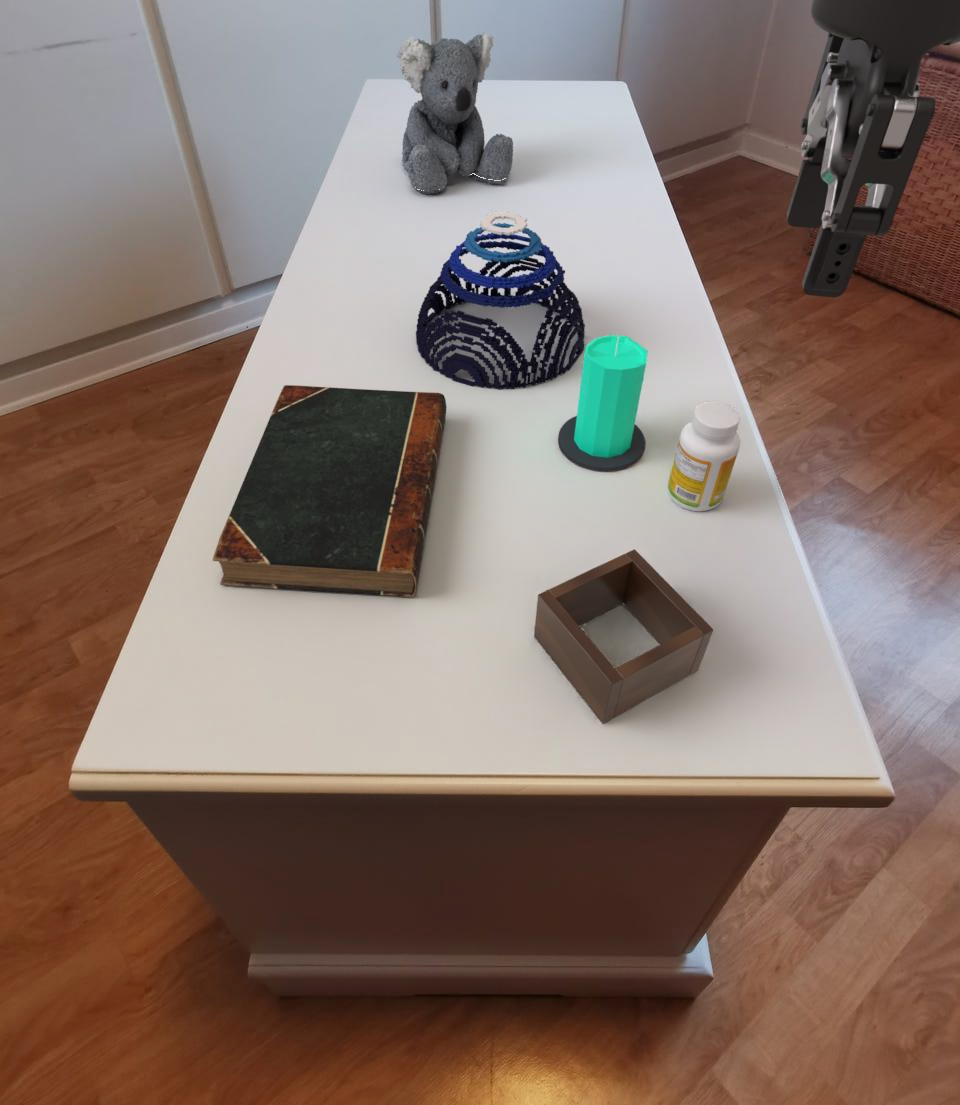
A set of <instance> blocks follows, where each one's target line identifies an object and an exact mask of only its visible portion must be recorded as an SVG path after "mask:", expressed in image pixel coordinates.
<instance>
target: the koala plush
mask: <svg viewBox="0 0 960 1105" xmlns="http://www.w3.org/2000/svg"><path fill="white" fill-rule="evenodd" d="M493 40H494V37H493V36H492V35H489V34H486V33H485V32H484V31H482V33H480V34H476V35H474V36H473V37H472V38H471V39H469V40H468V41H467V42H466V43H465V42H463V41H461V40H460V39H458V38H450V39H449V38H447V37H446V38H444V37H442V38H440V39H438V40H435V41H434V42H432V43H431V44H430V43H428V42H426V41H425V40H421V39H420V38H417V39H415V37H414V36H409V38H406V39H405V41H404V42H403V43H402V45H401V46H399V49H400V50H398V53H397V54H396V57H397V58H398V59H399V60H401V61H400V62H399V63H400V64H399V69H400V71H401V75H402V77H403V78H404V79H403V80H404V81H406V82H408V83H409V84H410V89H413V90H414V92H415V93H417V94H420V95H421V99H420V100H417V102H414V103H413V105H412V106H411V107H410V110H409V114H408V117H407V120H406V121H407V122H406V127H405V131H404V132H403V135H402V136H403V137H402V152H401V154H402V157H401V162H403V164H404V166H403V170H404V171H405V172H406V171H407V170H408V171H407V173H408V177H409V181H410V185H411V187H412V188H413V189H414V190H415V191H418V192H419V193H422V194H425V195H431V194H435V195H436V194H439V193H440V192H443V191H444V190H445V188H446V187H447V184H448V177H447V176H448V175H449V176H452V175H453V174H455V173H457V172H458V174H459V175H460V176H463V175H464V176H463V177H465V176H466V175H470V174H472V173H475V174H476V175H478V176H480V177H484V178H486V179H483V178H480V177H478V176H476V175H474V174H472V175H470V176H466V177H469V178H471V179H473V180H476V181H479V182H484V183H488V184H489V185H491V184H493V185H500V184H504V183H506V181H507V179H508V178H509V175H510V174H511V173H510V172H511V171H512V167H513V166H512V165H513V161H514V160H513V158H514V153H513V152H514V141H513V138H512V137H511V136H506V135H505V134H503V133H499V134H498V133H496V134H495V135H492V137H490V138H489V140H488V141H487V142H486V144H485V130H484V125H483V121H482V118H481V115H480V112H479V110H478V108H477V106H476V103H477V93H478V90H479V88H478V87H479V83H482V82H483V80H485V72H486V71H487V69H488V68H489V67H490V64H491V51H492V48H493V47H494V43H493V42H494V41H493ZM403 164H402V165H403ZM504 178H506V179H504ZM488 179H493V180H488ZM502 179H504V180H502ZM494 180H501V181H494ZM415 187H416V188H415ZM417 189H420V190H417ZM439 189H440V190H439ZM421 190H422V191H421ZM423 190H424V191H423Z"/></svg>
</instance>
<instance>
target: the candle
mask: <svg viewBox="0 0 960 1105" xmlns="http://www.w3.org/2000/svg"><path fill="white" fill-rule="evenodd" d="M648 352H649V351H648V350H647V349H646V348H645V347H643V345H641V344H639V343H638V342H637V341H635V339H634V340H633V339H632V338H631V337H629V336H628V335H617V334H608V335H604V336H599V337H596V338H594V339H593V340H591V341H590V342H589V343H588V344H587V345H586V346H585V348H584V355H583V363H582V371H581V380H580V386H579V396H578V404H577V412H576V416H577V419H576V427H575V435H574V441H575V442H576V444H577V445H578V447H579V449H581V450H582V451H584V452H586V453H588V454H590V455H592V456H597V457H605V458H609V457H614V456H618V455H622V454H623V453H624V452H625V451H626V450H628V449H629V448H630V445H631V440H632V435H633V430H634V424H635V425H636V419H637V415H638V414H637V413H638V410H639V409H638V408H639V404H640V398H641V393H642V388H643V382H644V378H645V371H646V366H647V362H648V354H649V353H648Z"/></svg>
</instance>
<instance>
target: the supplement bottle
mask: <svg viewBox="0 0 960 1105" xmlns="http://www.w3.org/2000/svg"><path fill="white" fill-rule="evenodd" d="M740 422H741V415H740V412H739V411H738V409H736V408H735V407H734V406H732V405H731V404H729V403H726V402H723V401H718V400H708V401H707V400H706V401H704V402H701V403H699V404H698V405H697V406H696V407H695V409H694V412H693V415H692V417H691V421H689V422H687V424H685V425H684V426H683V427H682V429H681V432H680V434H679V438H678V443H677V446H676V450H675V455H674V459H673V463H672V468H671V471H670V474H669V479H668V484H667V494H668V495H669V498H670V499H671V500H672V501H673V502H674V503H675V504H677V506H679V507H681V508H682V509H683V508H684V509H685V510H688V511H693V512H705V511H710V510H713V509H714V508H717V507H718V506H719V505H720V504H721V503H722V501H723V498H724V496H725V494H726V490H727V487H728V484H729V481H730V478H731V475H732V472H733V469H734V466H735V463H736V459H737V457H738V454H739V451H740V446H741V438H740V436H739V433H738V432H737V431H738V429H739V425H740Z"/></svg>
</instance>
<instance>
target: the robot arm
mask: <svg viewBox="0 0 960 1105" xmlns="http://www.w3.org/2000/svg"><path fill="white" fill-rule="evenodd" d="M810 14H811V18H812V20H813V22H814V24H816V25H817V26H818V28H820V29H821V30H823V31H825V32H827V41H826V44H825V46H824V51H823V54H822V57H821V60H820V63H819V67H818V70H817V74H816V77H815V80H814V83H813V86H812V89H811V94H810V96H809V100H808V104H807V107H806V110H805V114H804V117H803V118H802V119H801V122H800V128H801V130H800V131H801V132H800V133H801V135H802V136H805V137H804V139H803V140H802V142H801V145H800V151H801V155H800V156H801V158H807V159H802V162H801V165H800V168H799V171H798V175H797V179H796V181H795V185H794V189H793V191H792V194H791V198H790V200H789V201H790V202H789V205H788V209H787V212H786V221H787V223H788V225H789V226H791V227H793V228H805V229H818V228H819V231H818V232H817V237H816V240H815V242H814V245H813V249H812V251H811V253H810V257H809V260H808V263H807V266H806V269H805V272H804V275H803V278H802V280H801V281H802V282H801V284H802V288H803V292H804V293H805V295H807V296H811V297H813V296H814V297H822V298H823V297H824V298H838V297H841V296H842V295H843V294H845V292H846V290H847V289H848V285H849V283H850V280H851V277H852V275H853V272H854V269H855V267H856V265H857V262H858V260H859V257H860V254H861V251H862V248H863V247H864V244H865V241H866V239H867V236H878V237H879V236H881V237H885V236H886V235H887V234H888V233H889V230H890V229H891V228H892V225H893V221H894V219H895V216H896V213H897V211H898V208H899V205H900V202H901V200H902V197H903V194H904V192H905V189H906V187H907V184H908V181H909V179H910V177H911V174H912V171H913V168H914V166H915V163H916V160H917V158H918V155H919V152H920V151H921V147H922V144H923V142H924V139H925V137H926V135H927V132H928V129H929V126H930V124H931V121H932V119H933V117H934V116H935V111H936V98H935V97H932V96H920V95H921V84H920V82H919V83H918V79H919V75H920V72H921V68H922V61H923V59H924V58H925V55H926V54H927V53H928V52H930V51H932V50H933V49H935V48H937V47H939V46H941V45H943V46H951V45H952V46H953V45H955V44H958V43H960V0H812V4H811V7H810ZM863 186H865V187H867V194H866V199H865V203H864V205H861V204H856V201H857V198H858V195H859V192H860V189H861V188H862V187H863Z"/></svg>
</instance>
